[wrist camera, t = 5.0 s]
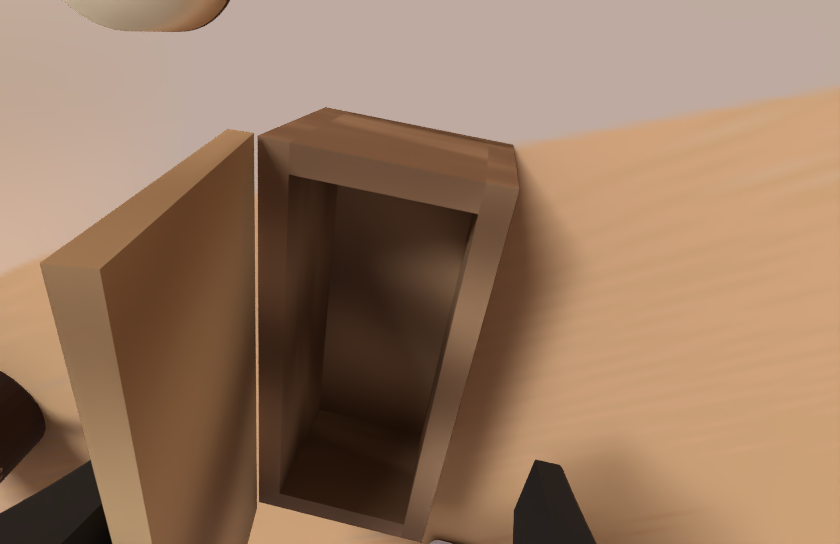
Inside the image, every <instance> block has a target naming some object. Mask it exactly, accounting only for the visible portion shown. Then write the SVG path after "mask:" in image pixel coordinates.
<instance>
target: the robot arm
mask: <svg viewBox="0 0 840 544" xmlns="http://www.w3.org/2000/svg"><path fill="white" fill-rule="evenodd" d="M0 544H112V540H111V536H110V532H109V528H108V524H107V521H106V517H105V513H104V509H103V505H102V501H101V497H100V494H99V490H98V486H97V482H96V478H95V474H94V470H93V467H92V463H91V460H90V461H88V462H86V463H85V464H83V465H82V466H80V467H79V468H77V469H76V470H74V471H72V472H71V473H69V474H68V475H66V476H64V477H63V478H61V479H60V480H58V481H56V482H55V483H53V484H51V485H50V486H48V487H46V488H44V489H43V490H41V491H39V492H38V493H36V494H34V495H32V496H31V497H29V498H27V499H25V500H23V501H22V502H20V503H18V504H16V505H15V506H13V507H11V508H9V509H7V510H5V511H4V512H2V513H0ZM430 544H453V543H449V542H445V541H441V540H434V541H432V542H430ZM513 544H596V542H595V540H594V538H593V536H592V533H591V531H590V529H589V527H588V525H587V523H586V521H585V519H584V517H583V514H582V512H581V510H580V508H579V506H578V503H577V501H576V499H575V497H574V494H573V492H572V490H571V487H570V485H569V483H568V480H567V478H566V476H565V473H564V471H563V469H562V467H561V466H560V465H557V464H553V463H548V462H544V461H539V460H535V461H534V464H533V466H532V468H531V471H530V473H529V476H528V478H527V480H526V483H525V485H524V488H523V490H522V492H521V495H520V497H519V500H518V502H517V504H516V507H515V509H514V527H513Z"/></svg>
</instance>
